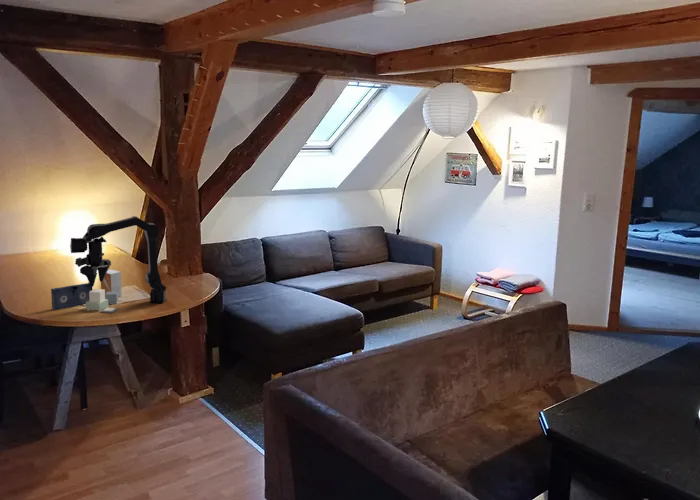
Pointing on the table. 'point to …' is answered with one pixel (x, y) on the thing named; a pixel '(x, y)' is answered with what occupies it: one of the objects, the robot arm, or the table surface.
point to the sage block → (97, 305)
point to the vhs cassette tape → (70, 296)
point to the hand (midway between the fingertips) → (96, 284)
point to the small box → (112, 282)
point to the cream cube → (97, 295)
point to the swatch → (109, 310)
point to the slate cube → (112, 297)
